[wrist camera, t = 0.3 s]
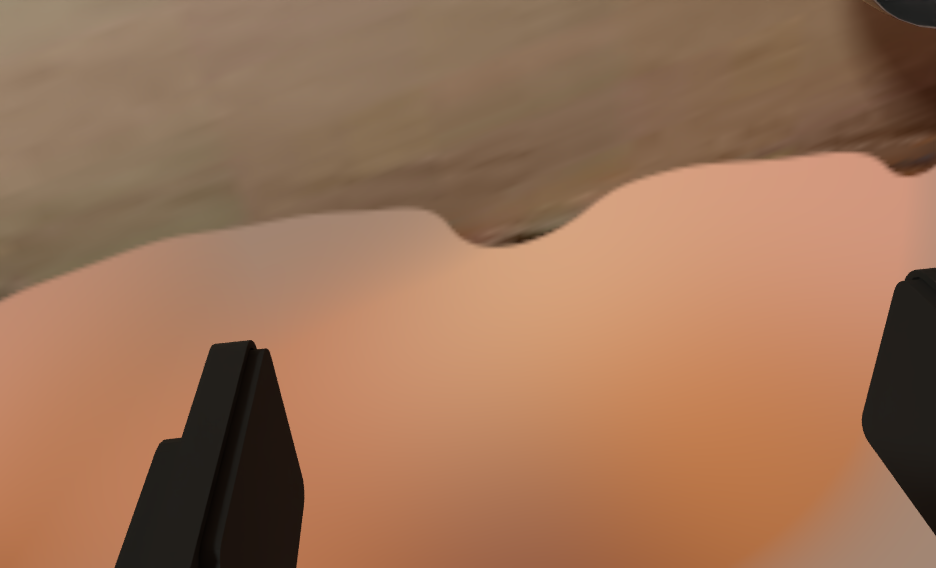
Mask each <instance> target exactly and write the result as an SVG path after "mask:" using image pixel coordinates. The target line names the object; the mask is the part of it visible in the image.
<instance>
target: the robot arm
mask: <svg viewBox="0 0 936 568" xmlns="http://www.w3.org/2000/svg"><path fill="white" fill-rule="evenodd" d="M862 426H863V431H864V434H865V437H866V438H867V440H868V442H869V443H870V445H871V446H872V447H873V449H874V450H875V452H876V453H877V454H878V456H879V457H880V458H881V460H882V461H883V463H884V464H885V465H886V467H887V468H888V470H889V471H890V472H891V474H892V475H893V477H894V478H895V479H896V481H897V482H898V484H899V485H900V486H901V488H902V489H903V490H904V492H905V493H906V495H907V496H908V497H909V499H910V500H911V502H912V503H913V505H914V506H915V507H916V509H917V510H918V511H919V513H920V514H921V515H922V517H923V518H924V520H925V521H926V523H927V524H928V525H929V527H930V528H931V529H932V531H933V532H934V534H935V535H936V268H929V269H920V270H914V271H911V272H910V273H909V274H908V275H907V276H906V278H905V281H901V282H899V283H898V284H897V285H896V287H895V290H894V293H893V297H892V301H891V305H890V310H889V313H888V317H887V321H886V325H885V328H884V332H883V336H882V340H881V344H880V348H879V352H878V356H877V360H876V364H875V368H874V372H873V375H872V379H871V383H870V387H869V391H868V395H867V399H866V403H865V406H864V410H863V415H862ZM303 508H304V484H303V478H302V474H301V470H300V466H299V462H298V458H297V454H296V451H295V447H294V443H293V439H292V435H291V431H290V427H289V424H288V420H287V416H286V412H285V408H284V404H283V401H282V397H281V393H280V389H279V385H278V381H277V377H276V374H275V370H274V366H273V362H272V358H271V355H270V352H269V350H268V349H257V348H256V345H255V343H254V342H253V341H252V340H248V341H239V342H229V343H219V344H214V345H212V346H211V348H210V351H209V354H208V357H207V360H206V363H205V366H204V369H203V373H202V375H201V379H200V382H199V385H198V388H197V391H196V394H195V397H194V401H193V404H192V407H191V410H190V413H189V416H188V419H187V423H186V425H185V429H184V432H183V435H182V438H175V439H166V440H163V441H162V442H161V443H160V444H159V446H158V448H157V450H156V452H155V454H154V457H153V460H152V463H151V466H150V469H149V472H148V474H147V477H146V480H145V483H144V486H143V489H142V491H141V494H140V497H139V500H138V503H137V506H136V508H135V511H134V514H133V517H132V520H131V523H130V525H129V528H128V531H127V534H126V537H125V540H124V543H123V545H122V548H121V551H120V554H119V557H118V560H117V563H116V565H115V568H296V565H297V557H298V549H299V541H300V532H301V523H302V516H303Z"/></svg>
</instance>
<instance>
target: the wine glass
mask: <svg viewBox="0 0 936 568" xmlns="http://www.w3.org/2000/svg"><path fill="white" fill-rule="evenodd" d="M862 1H864V2H865V3H867V4H869V5H870V6H872V7H874V8H875V9H877V10H879V11H880V12H883V13H885V14H887V15H889V16H891V17H894V18H896V19H899V20H901V21H904V22H907V23H910V24H913V25H916V26H919V27H927V28H935V29H936V0H862Z"/></svg>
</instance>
